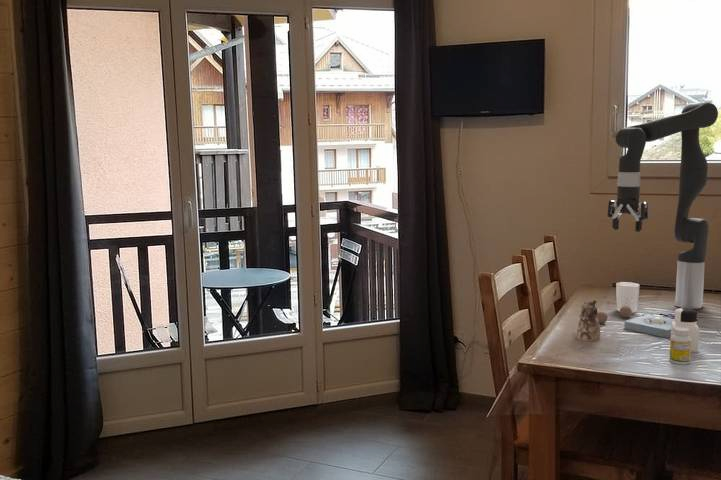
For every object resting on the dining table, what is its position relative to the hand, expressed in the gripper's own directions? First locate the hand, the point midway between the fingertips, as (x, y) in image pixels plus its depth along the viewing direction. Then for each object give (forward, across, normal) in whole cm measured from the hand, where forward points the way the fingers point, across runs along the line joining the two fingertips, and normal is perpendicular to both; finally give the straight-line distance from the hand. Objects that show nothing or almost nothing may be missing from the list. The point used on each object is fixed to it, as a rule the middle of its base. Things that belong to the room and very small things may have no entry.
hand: (626, 230), depth 257 cm
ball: (+28, -19, +12) cm, 36 cm away
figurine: (+30, -11, +38) cm, 50 cm away
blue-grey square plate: (+30, -20, +12) cm, 38 cm away
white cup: (+30, +1, -4) cm, 31 cm away
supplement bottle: (+30, -42, +40) cm, 65 cm away
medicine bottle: (+30, -36, +26) cm, 54 cm away
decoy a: (+28, -4, +5) cm, 29 cm away
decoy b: (+28, -3, +18) cm, 34 cm away
